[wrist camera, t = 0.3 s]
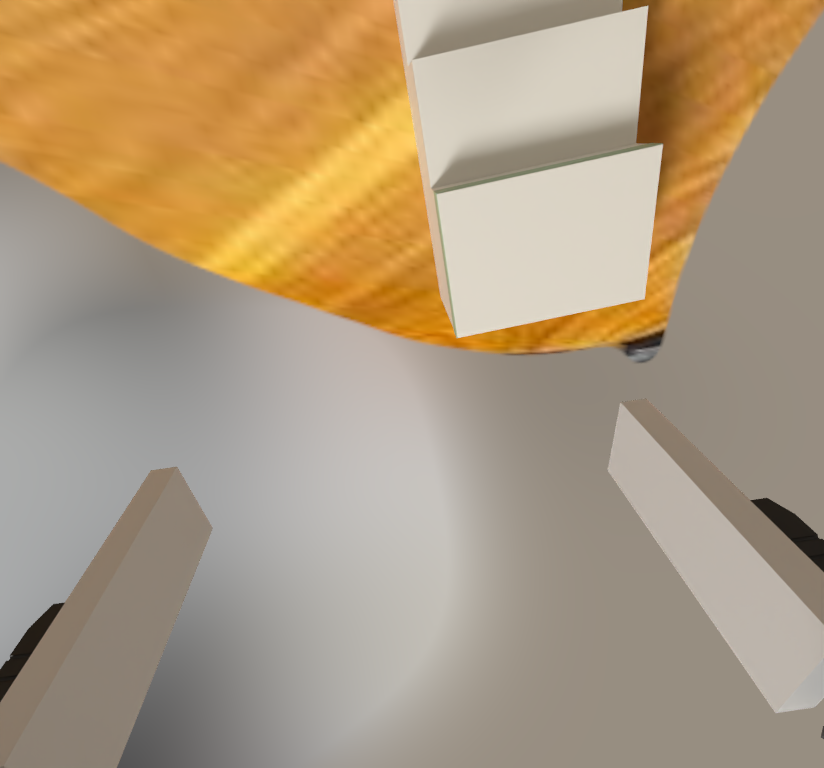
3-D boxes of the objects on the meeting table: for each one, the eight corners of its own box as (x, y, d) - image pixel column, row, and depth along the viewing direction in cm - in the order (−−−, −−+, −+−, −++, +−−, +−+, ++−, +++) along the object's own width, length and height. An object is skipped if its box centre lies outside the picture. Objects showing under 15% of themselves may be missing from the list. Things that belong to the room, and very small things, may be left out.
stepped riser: (382, -66, 26) (386, -150, 18) (606, -119, 25) (709, -230, 17) (440, 297, 38) (456, 338, 31) (589, 265, 38) (645, 299, 30)
